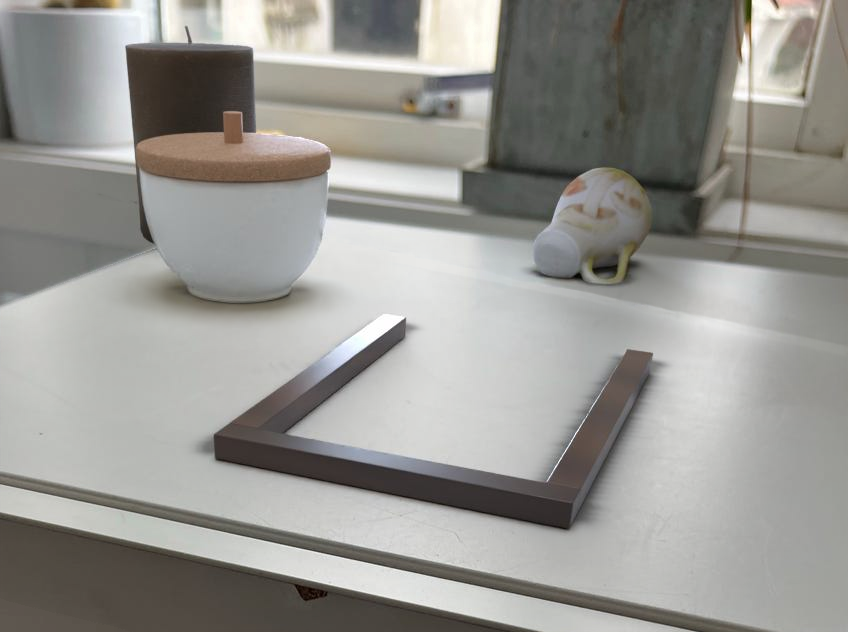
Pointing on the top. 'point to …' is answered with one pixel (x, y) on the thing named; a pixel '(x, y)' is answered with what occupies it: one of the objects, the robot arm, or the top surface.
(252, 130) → the pillar candle
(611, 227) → the mug
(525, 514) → the frame
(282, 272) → the lidded bowl
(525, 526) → the top surface
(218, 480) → the top surface
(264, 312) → the top surface
